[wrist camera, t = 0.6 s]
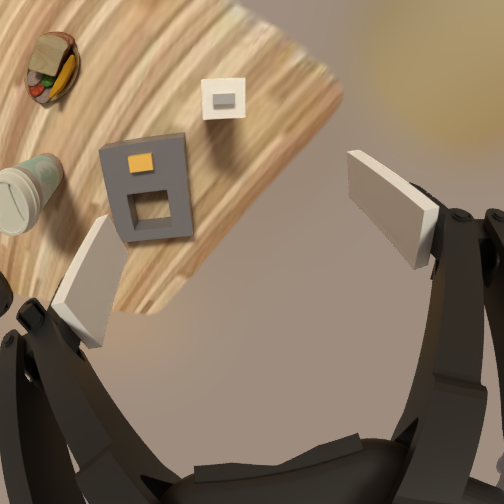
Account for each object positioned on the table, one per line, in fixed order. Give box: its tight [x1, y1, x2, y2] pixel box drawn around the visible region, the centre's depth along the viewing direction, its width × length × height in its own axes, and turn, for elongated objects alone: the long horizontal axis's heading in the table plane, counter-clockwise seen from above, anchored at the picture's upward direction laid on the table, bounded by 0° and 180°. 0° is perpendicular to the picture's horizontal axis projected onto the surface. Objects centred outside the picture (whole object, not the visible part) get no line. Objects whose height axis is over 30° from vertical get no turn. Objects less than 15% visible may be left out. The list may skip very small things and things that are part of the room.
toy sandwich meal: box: [24, 32, 79, 103], centre depth 22 cm, size 9×10×4 cm
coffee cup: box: [0, 153, 63, 236], centre depth 27 cm, size 9×9×12 cm
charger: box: [201, 78, 245, 120], centre depth 27 cm, size 4×4×11 cm
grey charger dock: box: [99, 133, 193, 243], centre depth 35 cm, size 11×14×4 cm
